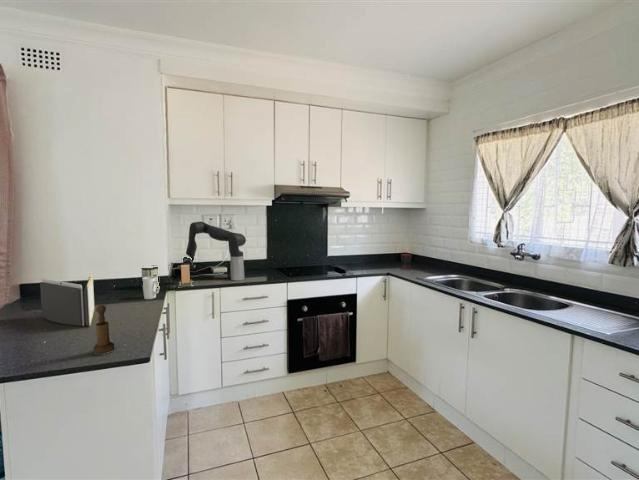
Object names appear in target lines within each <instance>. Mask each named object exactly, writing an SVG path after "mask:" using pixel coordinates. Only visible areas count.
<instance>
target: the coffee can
mask: <svg viewBox="0 0 639 480" xmlns="http://www.w3.org/2000/svg"><path fill="white" fill-rule="evenodd" d="M140 269H142V270H141V281H143V278H144V277H155V280H158V267H153V268H141V267H140ZM157 287H158V286H157V284H156V290H157Z"/></svg>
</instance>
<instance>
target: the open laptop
mask: <svg viewBox="0 0 639 480" xmlns="http://www.w3.org/2000/svg"><path fill="white" fill-rule="evenodd" d="M39 286H40V287H39V289H40V304H41V316H42V318H45V319H46V320H47V321H50V322H54V323H58V324H60V325H61V324H62V325H71V326H81V325H82V326H81V327H84V325H86V326H89V327H90V326H91V325H92V320H93V317H94V312H95V293H94V274H93V273H91V274H90V276H89V277H88V280H87V282H86V284H85V288H84V289H83V286H82V284H78V283H77V284H76V283H73V282H67V281H60V280H53V279H48V278H42V279H41V282H39ZM83 290H84V291H83Z"/></svg>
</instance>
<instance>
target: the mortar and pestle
mask: <svg viewBox="0 0 639 480" xmlns="http://www.w3.org/2000/svg"><path fill="white" fill-rule="evenodd" d="M106 310H107V307H106V306H105V305H103V304H101V305H98V306H96V312H97V314H98V318H97V321H98V323H96V324H95V326H96V327H95V328H96V341H97V343H96V344H95V345H94V347H93V349H92V350H93V354H94V353H96V354H103V353H107V352H110V351H112V350H114V351H115V344H114V342H112V341H110V329H109V322H108V321H106V316H105V313H106Z"/></svg>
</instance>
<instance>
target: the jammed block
mask: <svg viewBox="0 0 639 480" xmlns="http://www.w3.org/2000/svg"><path fill="white" fill-rule="evenodd" d="M180 265H181V269H180V271H181V273H180V274H181V280H182V284H184V283H190V280H191V279H190V273H191V272H190V270H189V265H182V264H180Z"/></svg>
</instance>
